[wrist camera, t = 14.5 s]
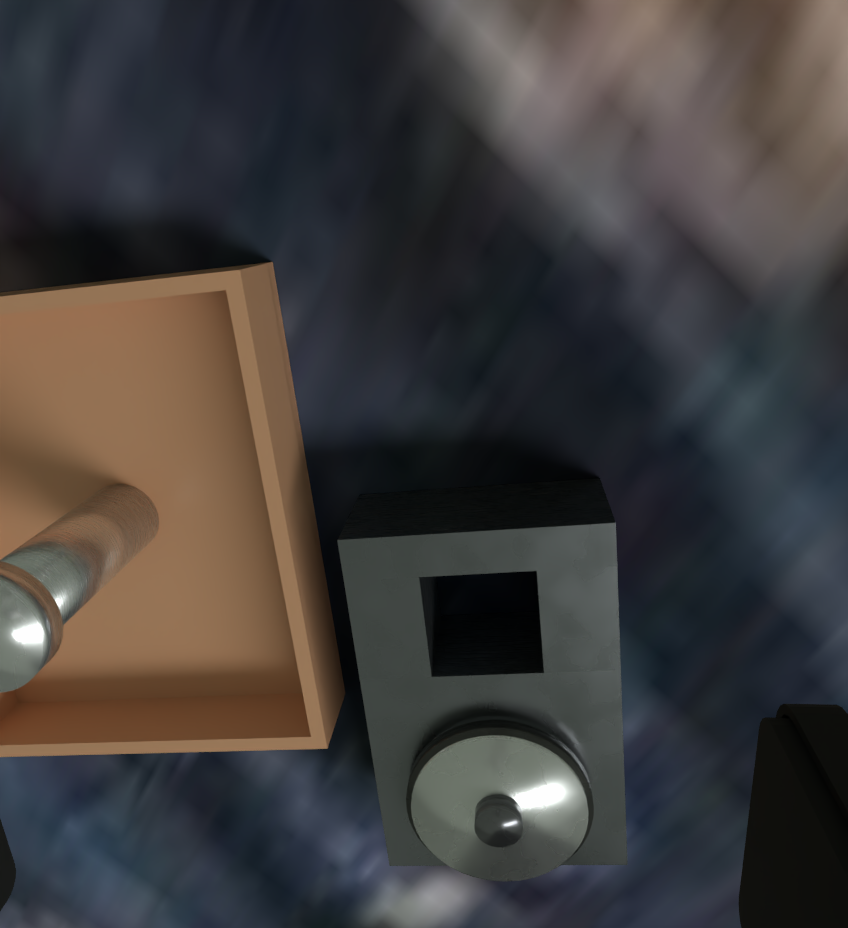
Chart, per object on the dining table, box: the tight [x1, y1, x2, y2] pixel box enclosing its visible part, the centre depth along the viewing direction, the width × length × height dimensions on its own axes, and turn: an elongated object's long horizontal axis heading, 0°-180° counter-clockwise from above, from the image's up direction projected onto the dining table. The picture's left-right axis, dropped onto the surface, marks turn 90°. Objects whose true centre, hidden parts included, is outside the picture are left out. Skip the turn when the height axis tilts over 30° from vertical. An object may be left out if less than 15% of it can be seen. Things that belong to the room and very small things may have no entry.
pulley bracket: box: [337, 478, 627, 881], centre depth 40 cm, size 20×13×8 cm, turn 6°
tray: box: [0, 262, 345, 757], centre depth 41 cm, size 26×22×5 cm
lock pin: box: [0, 484, 159, 693], centre depth 36 cm, size 5×5×12 cm
